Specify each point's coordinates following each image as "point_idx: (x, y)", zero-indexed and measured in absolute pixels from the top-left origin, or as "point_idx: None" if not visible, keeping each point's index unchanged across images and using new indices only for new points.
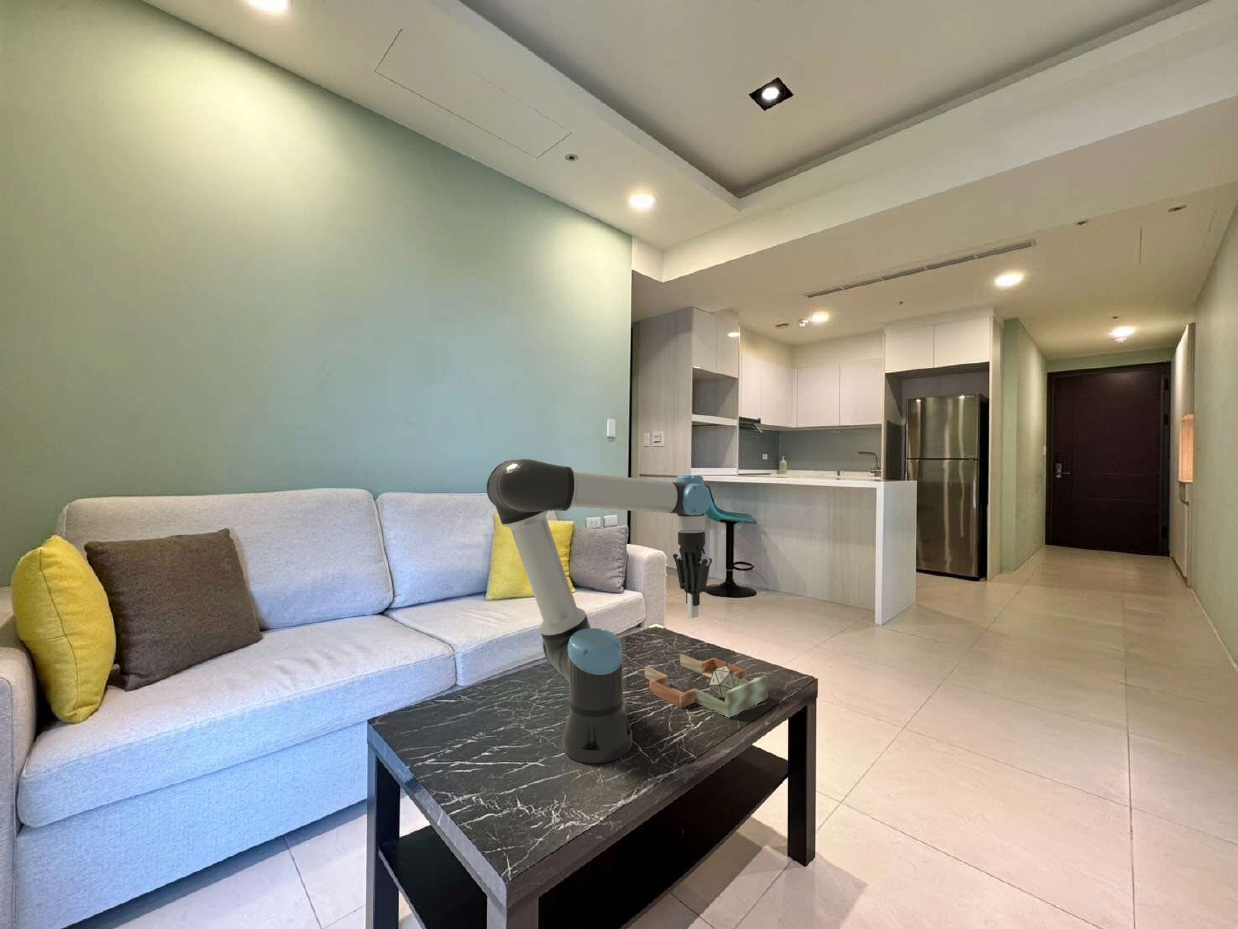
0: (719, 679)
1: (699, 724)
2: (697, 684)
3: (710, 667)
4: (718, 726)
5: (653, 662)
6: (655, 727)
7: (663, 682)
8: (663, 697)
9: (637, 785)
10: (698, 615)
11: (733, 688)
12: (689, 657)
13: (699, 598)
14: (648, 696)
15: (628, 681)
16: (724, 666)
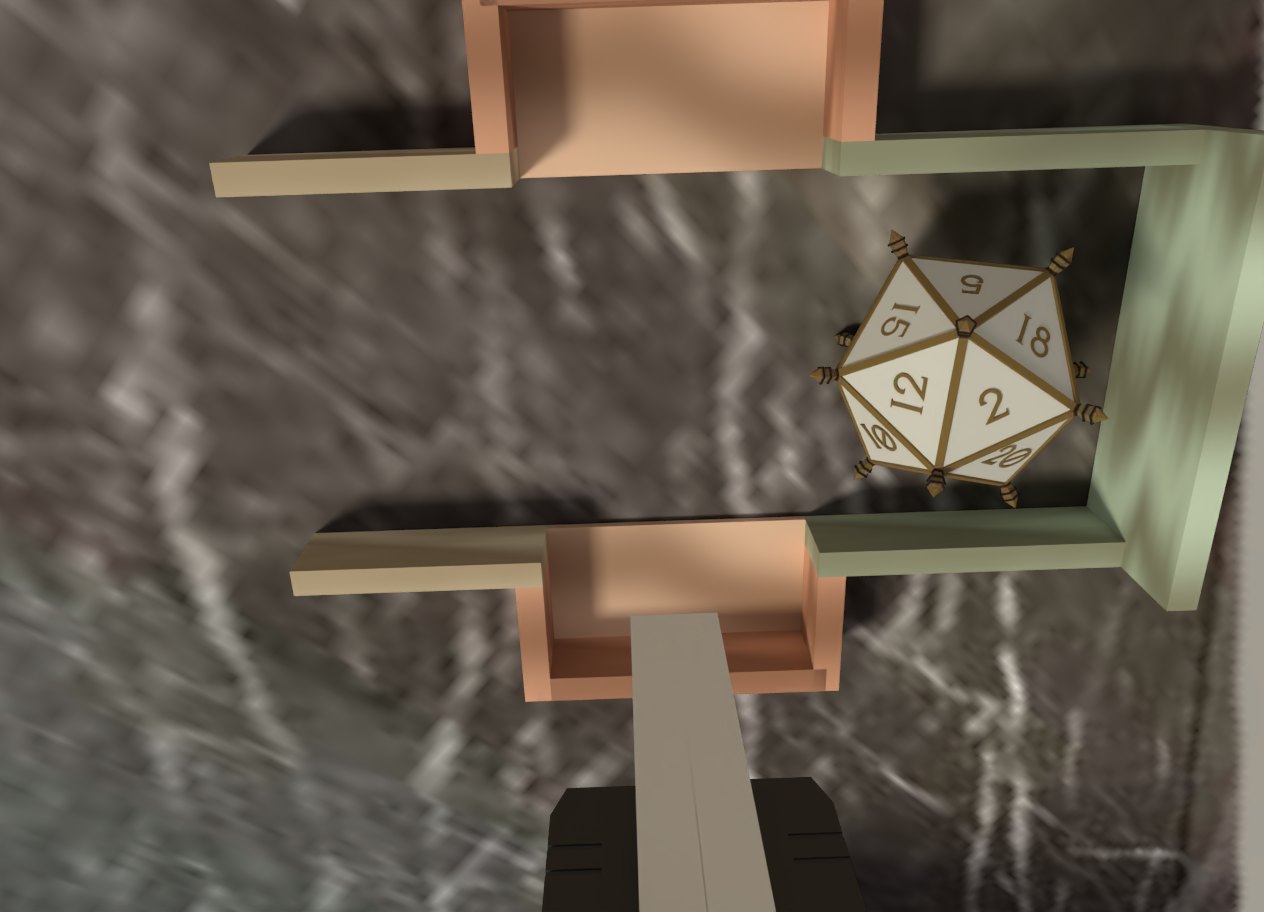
0: (996, 473)
1: (1016, 678)
2: (641, 342)
3: (509, 61)
4: (1107, 621)
5: (80, 332)
6: (870, 841)
7: (546, 589)
8: None
9: None
10: (717, 622)
11: (1187, 528)
12: (320, 169)
13: (860, 892)
14: None
15: (312, 665)
16: (963, 359)
